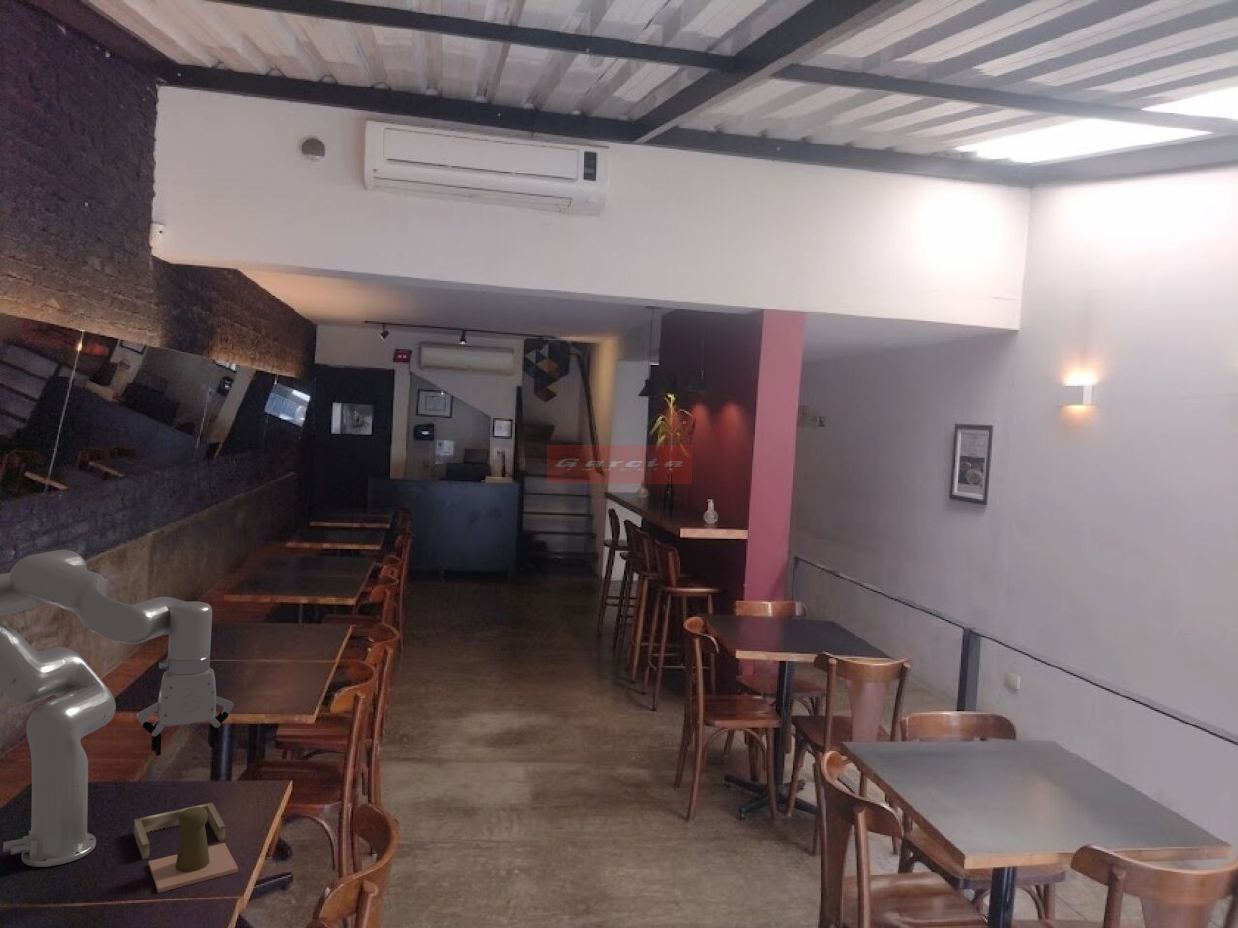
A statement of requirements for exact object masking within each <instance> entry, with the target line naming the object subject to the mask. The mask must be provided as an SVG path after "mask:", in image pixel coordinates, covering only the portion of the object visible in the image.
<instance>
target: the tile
mask: <svg viewBox="0 0 1238 928" xmlns="http://www.w3.org/2000/svg"><path fill="white" fill-rule="evenodd" d="M208 852H209V860H210V862H209V864H208V865H207V866H206V867H204V868H202V869H200V870H197V871H193V872H181V871H178V870H177V869H176V861H177V855H178V853H177V854H173V855H169V856H165V857H161V858H156V859H153V860H148V868H149V870H150V874H151V877H152V878H153V879H152V880H153V882H154V886H155V888H156V891H157V893H158V894H159V893H163V892H167V891H171V890H175V889H178V888H182V887H186V886H191V885H194V884H198V883H202V882H204V881H209V880H213V879H216V878H217V879H218V878H220V877H225V876H228V875H231V874H236V873H238V872H239V867H238V865H237V863H236V862H235V859H234V858H233V856H232V854H231V852H230V849H229V848H228V847H227V845H226V842H223V843H219V844H215V845H210V846H208Z"/></svg>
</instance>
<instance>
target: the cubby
mask: <svg viewBox="0 0 1238 928" xmlns="http://www.w3.org/2000/svg"><path fill="white" fill-rule="evenodd" d="M192 807H202V808H205V809H206V811H207V813H208V819H207V822H208V823H209V825H210V827H211V829H212V831H213V833H214V835H215V837H216V838H217V840H218V842H222V841H225V840H226V824H225V823H224V821H223V819H222V818H221V816H220V814H219V811H218V810H217V808H216V806H215V805H214V803H213V802H210V803H209V802H208V803H204V804H200V805H195V806H194V805H193V806H191V807H185V808H181V809H177V810H172V811H167V812H162V813H157V814H152V815H148V816H143V817H142V816H141V817H138V818H134V819H133V835H134V838H135V841H136V844H137V847H138V851H139V853H140V857H141V860H142V861H143V860H146V859H150V841H149V838H148V835H147V833H151V832H150V831H152V832H155V831H154V830H156V831H160V830H159V829H161V830H164V829H163V828H165V829H168V828H169V827H170V828H174V827H177V826H178V827H180V825H179V816H180V814H181V813H182V812H183V811H184V810H186V809H188V808H192ZM173 826H174V827H173ZM170 828H169V829H170Z"/></svg>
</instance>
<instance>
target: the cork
mask: <svg viewBox="0 0 1238 928" xmlns="http://www.w3.org/2000/svg"><path fill="white" fill-rule="evenodd" d="M191 807H192V808H189V807H187V808H188V809H186V810H184V811H183V812H182V813H181V814H180V816H179V827H180V837H179V842H178V843H179V844H178V850H177V854H178V855H177V861H176V869H177V870H178V871H181V872H193V871H197V870H200V869H202V868H204V867H206V866H207V865H208V864H209V862H210V860H209V852H208V847H209V846H208V837H207V831H206V830H207V829H206V826H205V825H206V824H207V823H208V813H207V811H206V809H205V808H202V807H194V806H191Z"/></svg>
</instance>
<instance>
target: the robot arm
mask: <svg viewBox="0 0 1238 928" xmlns="http://www.w3.org/2000/svg"><path fill="white" fill-rule="evenodd" d="M106 590H107V581H106V579H105V578H104V576H103V575H101V574H100V573H98V572H94V571H91V570H89V569H88V566H87V562H86V561H85V559H84V558H83V557H82V555H80V554H79V553H77V552H75V551H73V550H69V549H56V550H51V551H45V552H42V553H41V552H39V553H34V554H31V555H27V556H25V557H23V558H21V559H19V560H18V561H16V563H15V564H14V565H13V566H12V568H11V570H10V571H9V572H5V573H1V574H0V617H4V616H8V615H11V614H15V613H18V612H23V611H26V610H28V609H31V608H34V607H36V606H39V605H40V604H43V603H46V604H49V605H52V606H55V607H57V608H60V609H62V610H66V611H68V612H71V613H74V614H76V615H77V617H78V619H79V621H80V622H81V623H82V624H83V625H84V626H85V628H86V629H88V630H89V631H90V632H92V633H94V634H97V635H98V636H101V637H104V638H105V639H106V638H107V639H109V640H112V641H114V642H115V641H116V642H119V643H123V644H127V645H137V644H138V645H139V644H142V643H144V642H148V641H149V640H152V639H155V638H157V637H161V636H165V635H168V646H167V647H168V648H167V651H168V652H167V657H166V659H165V660H163V661H159V663H158V668H159V669H163V670H165V671H164V672H163V675H162V679H161V682H160V687H159V695H158V701H157V702H155V703H153V704H151V705H149V706H148V707H145V708H144V709H143V710H141V711H139V712H137V714H136V717H137V719H138V722H139V723H140V725H141V726H142V727H143V729H144V730H146V731H147V732H148V733H150V734H151V744H150V745H151V746H150V747H151V751H154V752H155V756H156V757H157V756H160V755H161V754H162V734H161V732H162V731H163V730H164V729H165V728H166V727H177V726H185V725H193V724H200V723H201V724H202V723H206V722H209V725H208V732H207V743H208V746H209V747H210V748H211V749H213V748H215V743H216V742H218V738H219V728H220V727H221V724H222V723H223V722H225V720H227V718H228V717H229V715H230V713H231V712H232V710H233V709H234V706H235V704H234V702H233V701H232V700H229V699H226V698H223V697H220V696H218V695H217V687H216V675H215V671H214V669H213V668H211V667H210V665H211V646H212V645H211V643H212V625H213V624H212V621H213V608H212V606H211V605H210V604H209V603H208V602H204V601H194V600H192V601H186V600H182V599H178V598H176V597H170V596H158V597H154V598H151V599H147V600H144V601H141V602H137V603H134V604H128V603H125V602H121V601H119V600H115V599H113V598H110V597H109V596H106V592H107V591H106ZM0 691H1V693H2V694H3V695H4V696H5V697H6V698H7V699H8V700H9V701H10V702H11V703H13V704H15V705H17V706H24V705H25V706H27V705H31V704H35V703H37V702H39V701H41V700H45V699H47V698H49V697H51V696H53V695H54V696H55V698H53V699H50V700H48V701H46V702H44V703H42V704H41V705H39V706H38V707H37V708H36V709H34V710H33V711H32V712H31V714H30V716H29V718H28V720H27V722H26V737H27V741H28V742H27V743H28V746H29V751H30V757H31V759H30V761H31V817H30V818H31V823H30V825H31V826H30V830H28V835H25V836H22V838H20V839H15V840H14V839H12V840H9V841H7V840H6V841H4V842H2V843H3V844H2V845H3V847H2V850H3V853H8V852H10V855H11V856H12V855H16V854H19V853H21V861H22V863H23V864H25V865H27V866H30V867H37V868H40V867H42V868H43V867H46V868H47V867H54V866H60V865H64V864H67V863H72V862H73V861H77V860H78V859H81V858H83V857H85V856H86V855H88V854H90V853H91V852H92V851H93V850H94V849H95V847H96V846H97V839H96V836H95V835H93V834H91V833H89V832H88V813H89V812H88V807H89V806H88V805H89V803H88V802H89V801H88V800H89V798H88V797H89V790H88V789H89V759H88V755H87V753H86V751H85V749H84V747H83V745H82V742H81V739H83V738H84V737H86V736H88V735H90V734H91V733H94V732H95V731H97V730H100V729H101V728H103V727H104V726H106V725H107V724H108V723H109V722H111V720H112V719H113V718H114V716H115V713H116V707H117V705H116V700H115V697H114V695H113V693H112V692H111V690H110V689H109V687H108V686H107V685H106V684H105V682H104V681H102V679H101V677H99V676H98V674H97V673H96V672H95V671H94V670H93V668H91V666H90V665H89V664H88V662H86V660H85V659H84V658H83V657H82V656H81V655H80V654H79V653H78V652H76V651H75V650H72V649H71V648H68V647H64V646H55V647H48V648H45V649H44V650H43V649H42V650H39V651H37V650H36V649H34V648H33V647H32V646H31V645H30V644H29V643H28V642H27V641H26V639H25V638H24V637H23V636H22V634H21V633H19V632H18V631H17V630H15V629H14V628H12V627H11V626H8V625H6V624H5V623H2V622H0ZM217 705H219V706H221V707H223V708H222V710H221V711H220V713H218V714H217ZM156 712H157V715H156V716H157V718H158V719H156V721H155V722H154V723H152V722H150V721H149V720H148V717H149V716H151V715H153V714H154V713H156ZM216 714H217V715H216Z"/></svg>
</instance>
